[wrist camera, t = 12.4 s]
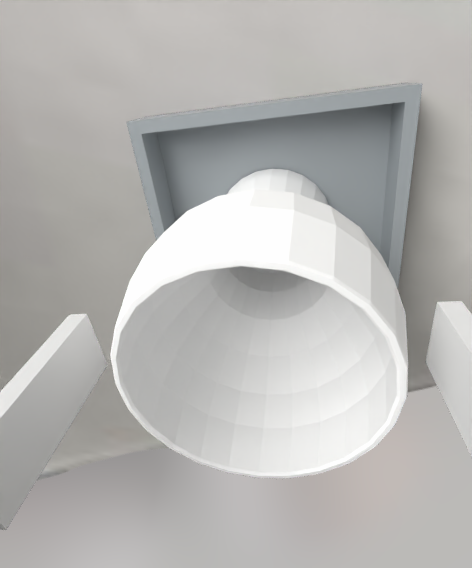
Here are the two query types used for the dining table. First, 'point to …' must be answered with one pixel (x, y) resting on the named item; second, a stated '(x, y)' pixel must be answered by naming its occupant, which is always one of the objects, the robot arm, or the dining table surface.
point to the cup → (264, 334)
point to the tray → (290, 155)
